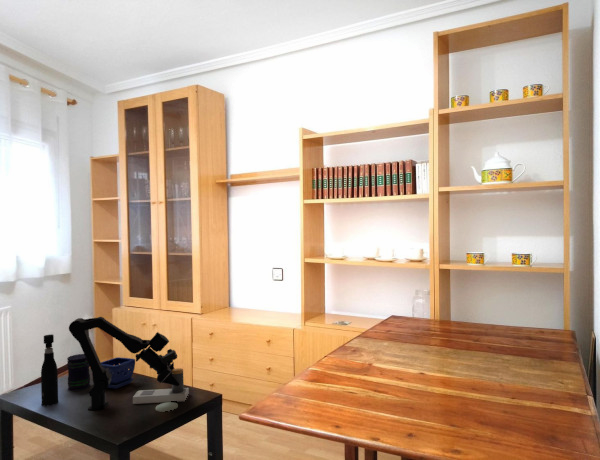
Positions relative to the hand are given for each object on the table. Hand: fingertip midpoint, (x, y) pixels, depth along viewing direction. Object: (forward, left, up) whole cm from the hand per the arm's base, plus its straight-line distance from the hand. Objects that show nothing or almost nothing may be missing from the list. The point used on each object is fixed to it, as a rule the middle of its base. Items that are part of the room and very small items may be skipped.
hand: (179, 381), depth 194 cm
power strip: (0, +8, -7) cm, 11 cm away
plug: (0, +1, -7) cm, 7 cm away
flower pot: (+22, +35, -7) cm, 42 cm away
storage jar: (+22, +53, -7) cm, 58 cm away
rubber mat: (-11, +3, -7) cm, 13 cm away
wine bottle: (+2, +57, -7) cm, 58 cm away
